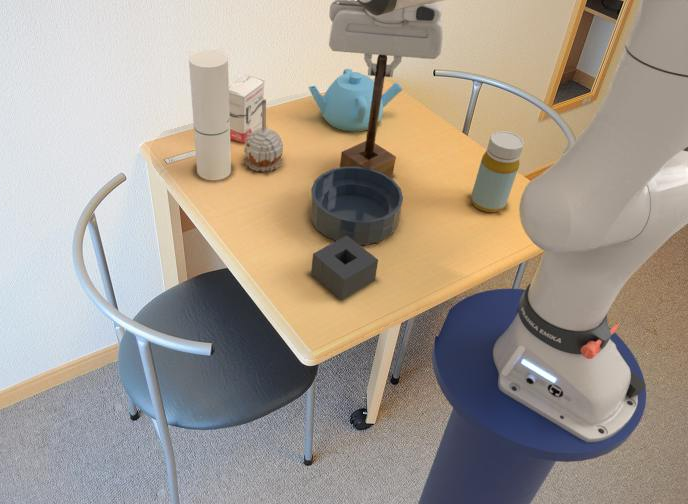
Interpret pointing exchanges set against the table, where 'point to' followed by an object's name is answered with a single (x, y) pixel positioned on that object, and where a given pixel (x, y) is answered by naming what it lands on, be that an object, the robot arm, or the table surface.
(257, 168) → the grey round-headed piece
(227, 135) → the cylindrical container
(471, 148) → the table surface
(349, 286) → the stand
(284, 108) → the table surface
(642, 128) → the robot arm
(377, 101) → the stick
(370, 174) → the bowl
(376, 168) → the holder
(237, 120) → the ink box
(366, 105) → the teapot
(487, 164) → the bottle
